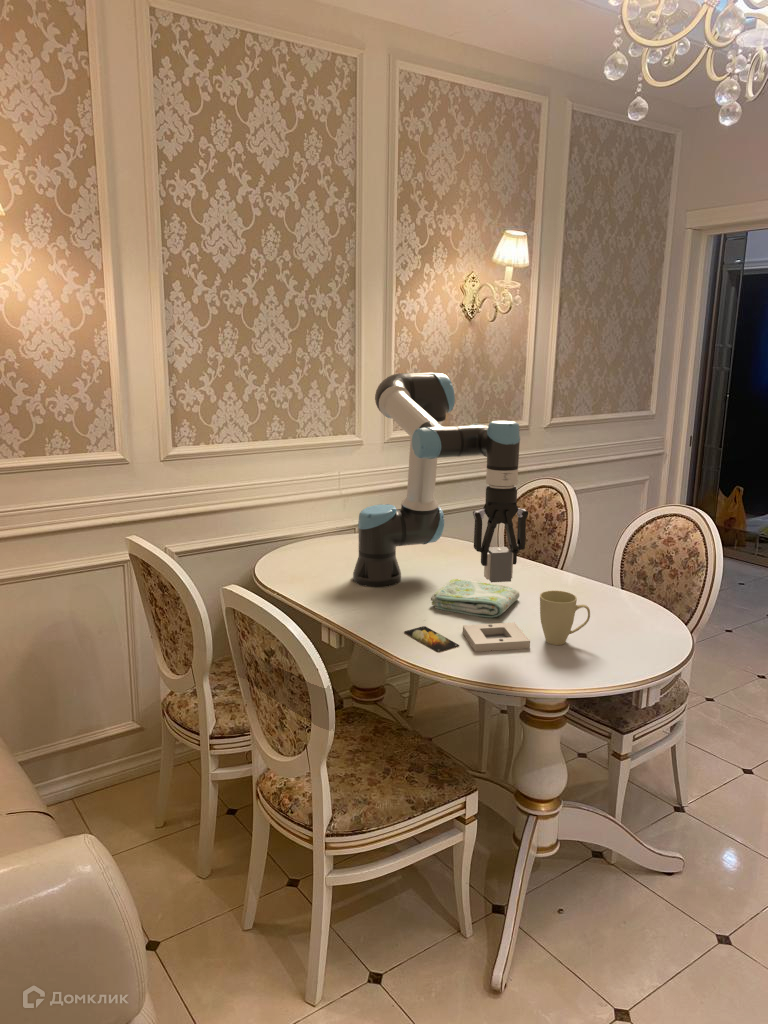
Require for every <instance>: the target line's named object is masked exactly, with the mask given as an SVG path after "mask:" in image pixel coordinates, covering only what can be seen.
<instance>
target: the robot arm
mask: <svg viewBox="0 0 768 1024" xmlns="http://www.w3.org/2000/svg"><path fill="white" fill-rule="evenodd" d="M374 395H375V396H374V401H375V402H374V403H375V405H376V407H377V410H379V412H380V413H381V414H382V415H383V416H384V417H386V418H388V419H392V420H393V421H394V422H395V423H396V424H397V425H398V426H399V427H400V428H401V429H402V430H403V431H404V432H405V433H406V434H407V435H408V436H409V437H410V438H409V439H410V441H409V444H410V445H409V457H408V458H409V459H408V472H407V473H408V474H407V486H406V487H407V488H406V496H405V498H403V499H402V500H401V505H400V506H401V507H400V508H397V507H396V506H395V505H393V504H389V503H388V504H382V503H381V504H375V505H371V506H367V507H366V508H363V509H362V510H360V512H359V513H358V523H357V529H358V531H357V532H358V557H357V559H356V562H355V567H354V569H353V574H352V576H353V577H352V580H353V583H355V584H357V585H360V586H363V587H370V588H384V587H390V586H395V585H397V584H399V583H400V582H401V581H402V572H401V569H400V565H399V562H398V558H397V557H396V556H397V555H396V554H397V553H396V551H397V547H403V546H404V547H405V546H416V545H428V544H430V543H431V544H432V543H436V542H437V541H438V540H439V539H440V538H441V536H442V535H443V532H444V528H445V514H444V511H443V509H442V508H441V506H439V505H440V504H439V502H438V501H437V500H436V499H435V495H436V494H435V492H436V482H437V481H436V479H437V469H438V467H437V466H438V459H441V458H442V459H443V458H456V457H458V458H459V457H461V458H462V457H477V456H483V457H485V458H486V476H485V477H486V478H485V483H486V487H485V504H484V505H483V508H482V509H479V510H476V509H475V510H473V511H472V515H473V519H474V531H473V532H474V533H473V549H474V550H475V551H476V552H478V553H480V564H481V566H483V567H484V569H483V577H484V578H485V580H489V581H490V564H491V554H490V553H489V552H488V550H489V547H491V543H492V540H493V536H494V533H495V530H496V528H497V525H499V524H504V527H505V532H506V536H507V540H508V546H509V550H510V551H511V552H512V571H511V579H513V572H514V569H513V568H514V565H516V564H517V563H518V562H517V559H518V554H519V552H520V551H523V550H525V548H526V529H527V528H526V524H527V519H528V516H529V511H528V510H526V509H525V508H520V507H518V503H517V502H518V501H517V500H518V487H517V485H518V481H519V480H518V478H519V476H518V475H519V458H520V457H519V456H520V443H521V435H520V428H521V427H520V424H519V423H518V422H516V421H514V420H511V421H510V420H493V421H490V422H489V423H488V424H485V423H472V424H470V425H461V426H443V425H442V424H443V423H444V422H445V421H446V415H447V413H448V414H449V413H451V412H452V411H453V409H454V407H455V401H456V396H455V395H456V394H455V389H454V385H453V383H452V381H451V379H450V377H449V376H447V375H446V374H444V373H442V372H441V373H440V372H432V371H431V372H430V371H429V372H412V373H411V372H409V373H403V372H401V373H394V374H391V375H389V376H387V377H386V378H385V379H383V380H382V381H381V382H380V383H379V385H378V386H377V387H376V391H375V394H374ZM484 515H486V516H487V518H488V519H487V525H486V529H485V533H484V536H482V535H483V519H484ZM515 516H516V517H517V535H516V536H515V531H514V523H513V518H514V517H515ZM482 537H483V538H482ZM516 537H517V538H516Z"/></svg>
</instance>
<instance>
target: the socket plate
mask: <svg viewBox="0 0 768 1024" xmlns="http://www.w3.org/2000/svg"><path fill="white" fill-rule="evenodd" d="M462 634H463V636H464V637H465V638H467V639H466V640H467V642H468V643H469V644H470V646H471V648H472V649H473V651H474V652H475V653H477V652H476V651H478V652H491V650H492V651H508V650H510V651H511V650H524V649H531V640H530V638H529V637H528V636H527V635H526V634H525V633H524V632H523V631H522V629H521V628H520V627H519V626H518V624H517V623H516V622H514V621H513V622H500V623H499V622H498V623H497V622H496V623H481V624H467V625H466V624H465V625H462Z"/></svg>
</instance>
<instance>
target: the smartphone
mask: <svg viewBox="0 0 768 1024" xmlns="http://www.w3.org/2000/svg"><path fill="white" fill-rule="evenodd" d="M403 634H405V635H407V636H408V637H410V638H411V639H413V640H415V641H417V642H419V644H422V645H423V646H425V647H427V648H429V649H431V650H433V651H434V652H436V653H444V652H447V651H450V650H453V649H457V648H460V644H458V643H456V642H455V641H453V640H452V639H449V638H448V637H445V636H443V635H442V634H441V633H439V632H436V631H435V630H433V629H431V628H429V627H428V626H425V625H424V626H419V627H414V628H412V629H409V630H408V629H407V630H404V631H403ZM456 647H457V648H456Z"/></svg>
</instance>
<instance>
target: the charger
mask: <svg viewBox="0 0 768 1024" xmlns="http://www.w3.org/2000/svg"><path fill="white" fill-rule="evenodd" d="M488 552H489V553H490V554H491V564H490V580H489V581H490V583H509V582H512V578H511V571H512V552H511V549H510V548H508V547H507V546H492V547H491V546H490V547H489V550H488Z"/></svg>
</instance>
